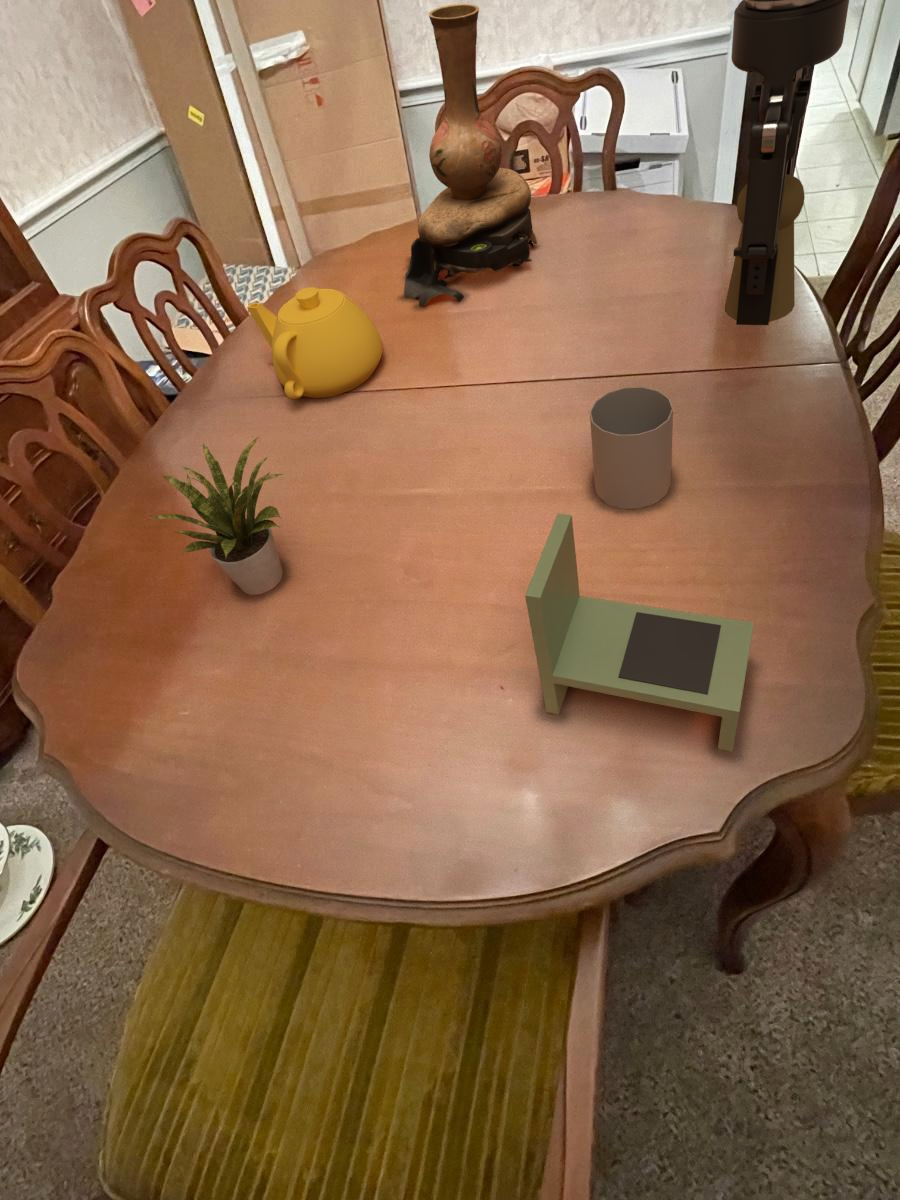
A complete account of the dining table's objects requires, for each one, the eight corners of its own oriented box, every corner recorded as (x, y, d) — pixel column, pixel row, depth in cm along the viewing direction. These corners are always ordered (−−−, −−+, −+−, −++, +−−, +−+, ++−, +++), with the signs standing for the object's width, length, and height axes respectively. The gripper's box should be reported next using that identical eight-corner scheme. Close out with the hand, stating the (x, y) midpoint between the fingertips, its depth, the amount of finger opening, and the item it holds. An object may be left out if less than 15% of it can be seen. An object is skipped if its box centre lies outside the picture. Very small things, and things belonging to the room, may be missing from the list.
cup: (634, 519, 82) (633, 446, 74) (579, 488, 87) (573, 416, 79) (686, 478, 84) (690, 403, 77) (629, 451, 89) (628, 378, 82)
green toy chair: (746, 665, 67) (768, 536, 55) (732, 752, 62) (753, 631, 50) (571, 635, 73) (557, 513, 61) (546, 712, 68) (524, 595, 56)
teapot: (405, 346, 115) (384, 264, 106) (341, 420, 105) (311, 337, 96) (302, 335, 124) (274, 259, 114) (234, 403, 114) (197, 325, 105)
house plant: (337, 523, 91) (290, 410, 79) (324, 610, 82) (269, 497, 70) (226, 540, 93) (164, 432, 81) (202, 626, 84) (127, 519, 72)
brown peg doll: (719, 295, 72) (727, 173, 64) (785, 285, 71) (802, 159, 63) (731, 327, 68) (741, 201, 60) (802, 317, 67) (821, 186, 59)
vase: (537, 290, 119) (508, 20, 93) (401, 310, 123) (336, 57, 97) (537, 225, 134) (511, -23, 108) (416, 245, 138) (363, 11, 112)
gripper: (754, -35, 59) (731, 254, 76) (712, 42, 49) (696, 359, 66) (860, -52, 57) (812, 253, 73) (841, 26, 46) (790, 362, 63)
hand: (758, 303), depth 70 cm, fingers closed on brown peg doll, 6 cm apart
